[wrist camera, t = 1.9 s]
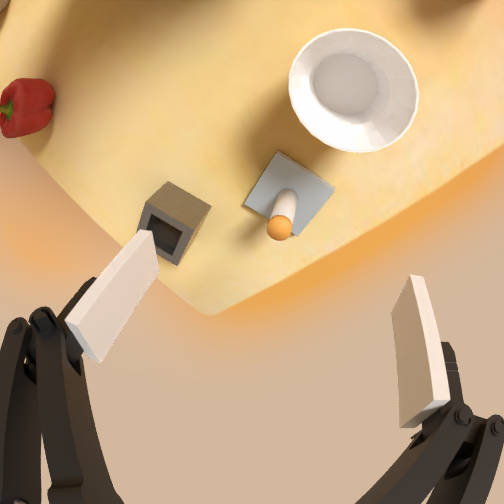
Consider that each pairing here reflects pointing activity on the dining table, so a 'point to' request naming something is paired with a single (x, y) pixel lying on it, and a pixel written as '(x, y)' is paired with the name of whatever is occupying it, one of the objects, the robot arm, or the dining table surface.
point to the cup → (353, 90)
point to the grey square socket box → (173, 220)
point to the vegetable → (25, 107)
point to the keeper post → (288, 196)
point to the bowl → (3, 4)
